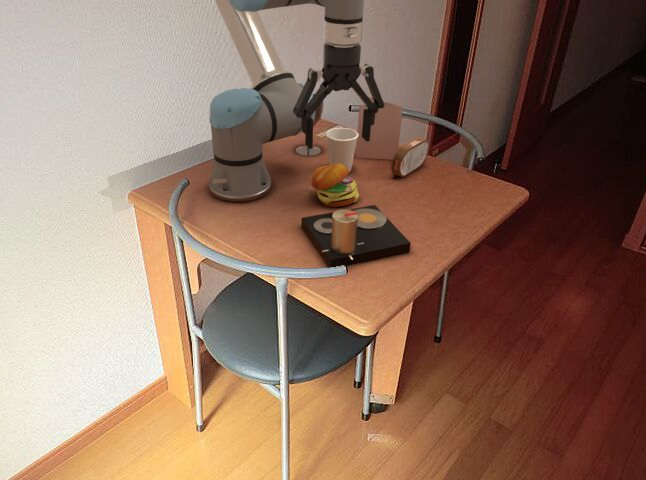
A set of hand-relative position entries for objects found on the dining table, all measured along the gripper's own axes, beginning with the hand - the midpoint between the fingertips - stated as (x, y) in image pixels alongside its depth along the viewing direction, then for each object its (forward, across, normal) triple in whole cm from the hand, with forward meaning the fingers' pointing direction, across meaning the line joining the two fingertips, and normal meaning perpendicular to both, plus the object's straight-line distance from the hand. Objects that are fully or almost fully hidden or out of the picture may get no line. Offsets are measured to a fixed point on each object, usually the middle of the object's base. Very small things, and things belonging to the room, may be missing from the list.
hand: (337, 142), depth 123 cm
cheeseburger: (+16, +1, +2) cm, 16 cm away
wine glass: (+16, +4, +31) cm, 36 cm away
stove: (+16, -2, -16) cm, 22 cm away
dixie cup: (+16, +9, +18) cm, 25 cm away
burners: (+13, -2, -13) cm, 18 cm away
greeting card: (+16, +20, +22) cm, 34 cm away
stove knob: (+13, -7, -21) cm, 26 cm away
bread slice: (+16, +26, +11) cm, 32 cm away
